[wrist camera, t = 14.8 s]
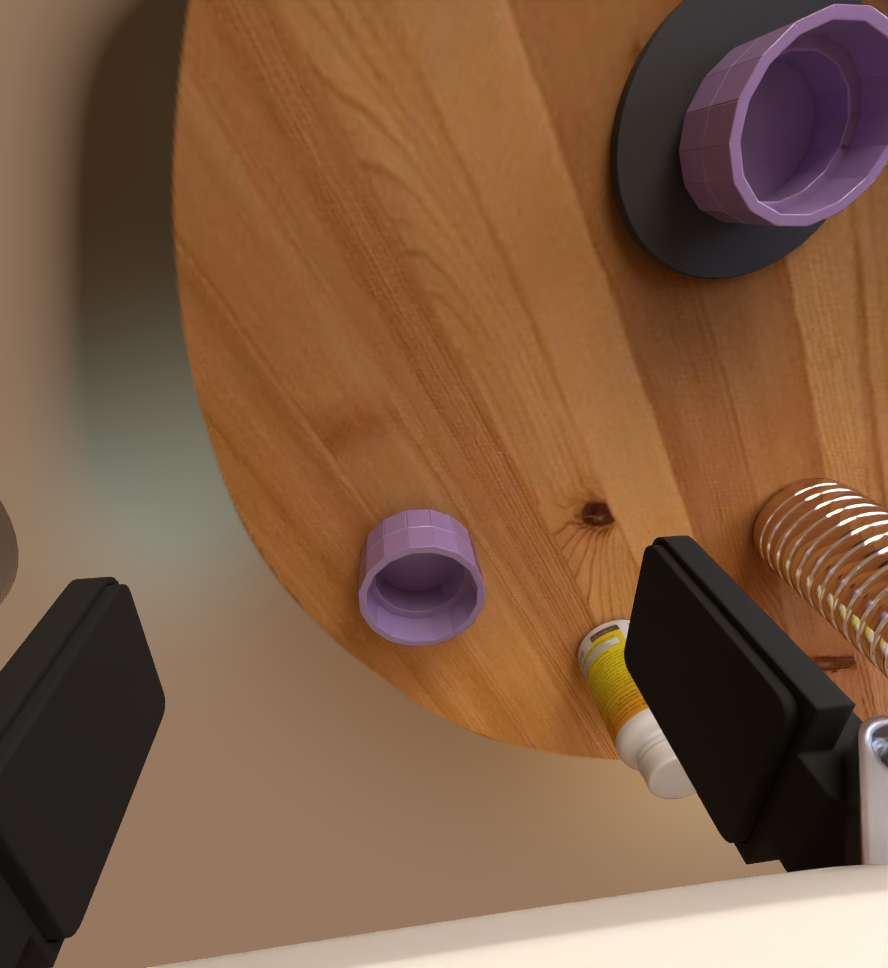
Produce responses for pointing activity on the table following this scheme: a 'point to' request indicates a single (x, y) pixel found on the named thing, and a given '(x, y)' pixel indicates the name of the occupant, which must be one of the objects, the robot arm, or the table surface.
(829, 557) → the water bottle
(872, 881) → the robot arm
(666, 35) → the coaster
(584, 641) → the supplement bottle
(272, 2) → the table surface
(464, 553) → the dish
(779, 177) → the dish
